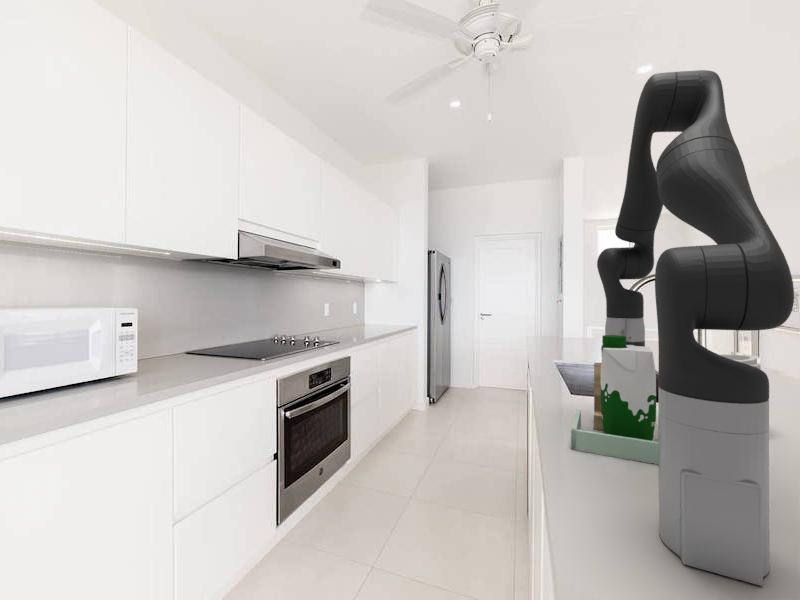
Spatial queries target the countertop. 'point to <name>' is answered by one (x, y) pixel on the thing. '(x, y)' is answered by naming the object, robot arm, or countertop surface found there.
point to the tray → (612, 444)
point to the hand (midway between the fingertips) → (624, 415)
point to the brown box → (597, 397)
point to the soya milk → (627, 389)
